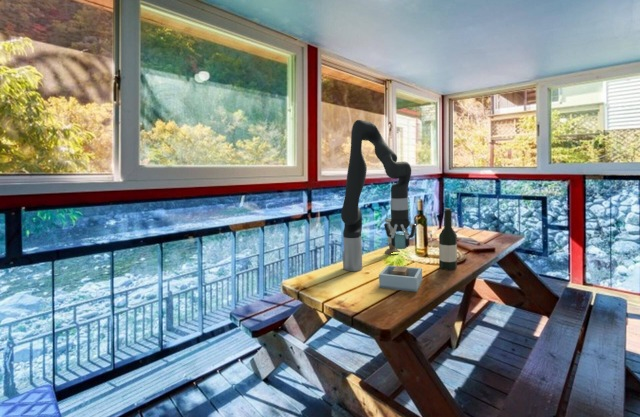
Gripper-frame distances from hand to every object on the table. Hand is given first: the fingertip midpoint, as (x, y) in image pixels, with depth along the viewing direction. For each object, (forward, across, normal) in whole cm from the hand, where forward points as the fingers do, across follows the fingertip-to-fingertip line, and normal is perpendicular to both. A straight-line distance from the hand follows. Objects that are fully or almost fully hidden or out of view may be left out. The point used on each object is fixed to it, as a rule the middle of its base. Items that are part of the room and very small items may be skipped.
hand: (400, 246), depth 149 cm
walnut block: (+16, 0, 0) cm, 16 cm away
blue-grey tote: (+17, 0, 0) cm, 17 cm away
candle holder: (+18, -16, +50) cm, 55 cm away
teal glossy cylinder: (+1, 0, 0) cm, 1 cm away
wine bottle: (+18, +17, +30) cm, 39 cm away
